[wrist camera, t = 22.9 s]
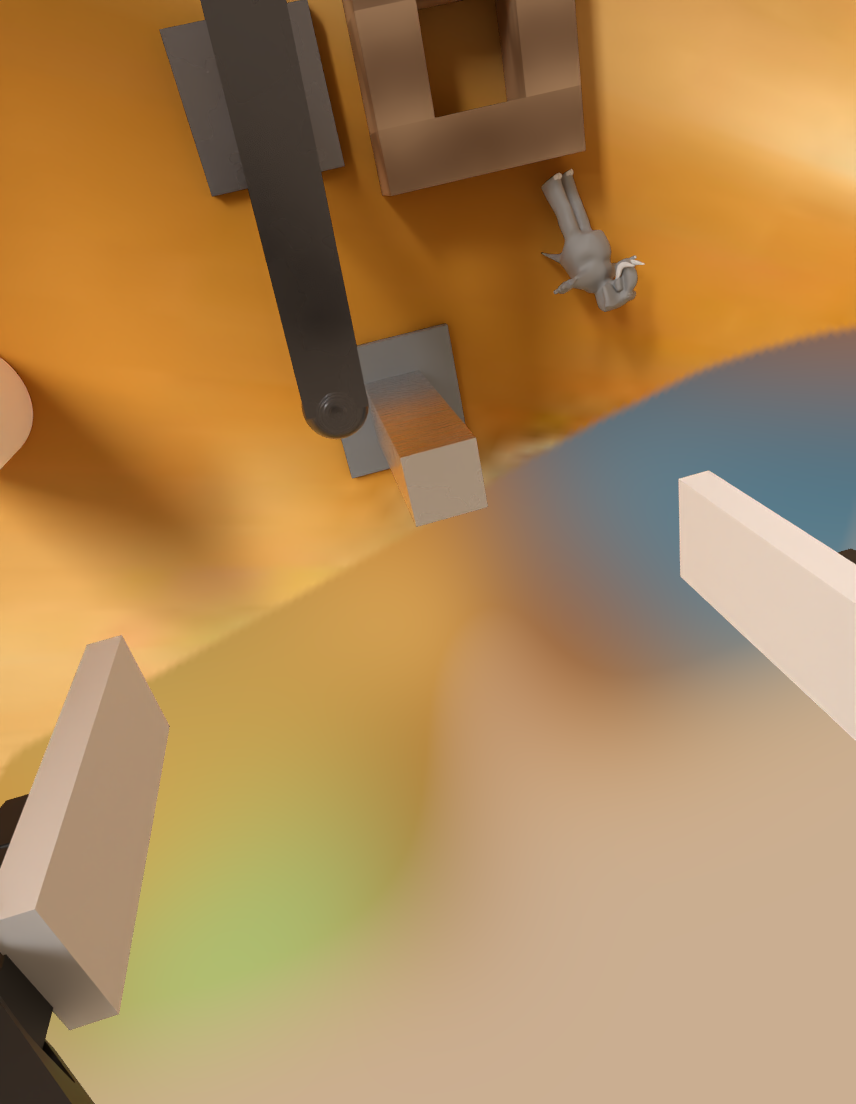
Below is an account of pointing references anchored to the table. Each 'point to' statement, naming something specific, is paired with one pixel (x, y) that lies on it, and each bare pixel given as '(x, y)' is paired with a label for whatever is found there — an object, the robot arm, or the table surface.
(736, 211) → the table surface
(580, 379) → the table surface
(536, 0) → the eye block
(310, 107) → the handle post
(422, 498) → the peg
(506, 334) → the table surface
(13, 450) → the cup
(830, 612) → the robot arm
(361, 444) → the mat
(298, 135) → the dark grey bar
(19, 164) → the table surface
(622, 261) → the elephant figurine
